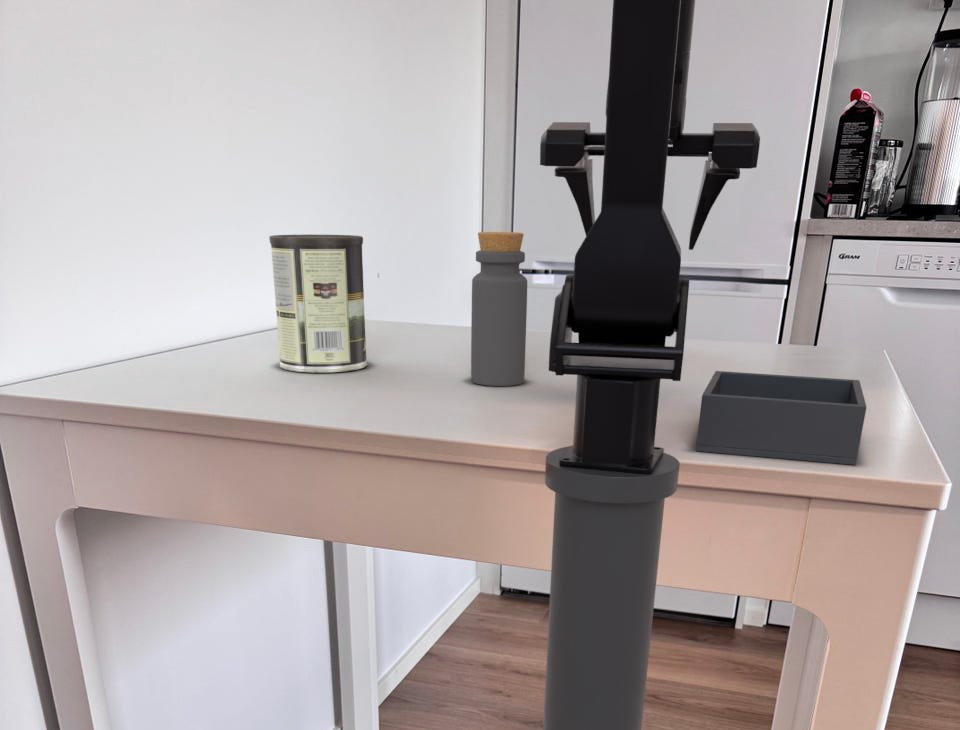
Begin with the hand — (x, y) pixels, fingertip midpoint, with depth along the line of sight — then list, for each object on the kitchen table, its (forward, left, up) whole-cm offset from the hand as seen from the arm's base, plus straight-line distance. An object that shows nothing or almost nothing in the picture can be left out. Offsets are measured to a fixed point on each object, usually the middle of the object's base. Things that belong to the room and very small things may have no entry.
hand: (640, 247), depth 89 cm
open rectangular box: (-13, -15, -14) cm, 24 cm away
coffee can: (+7, +37, -14) cm, 41 cm away
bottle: (+5, +15, -14) cm, 22 cm away
